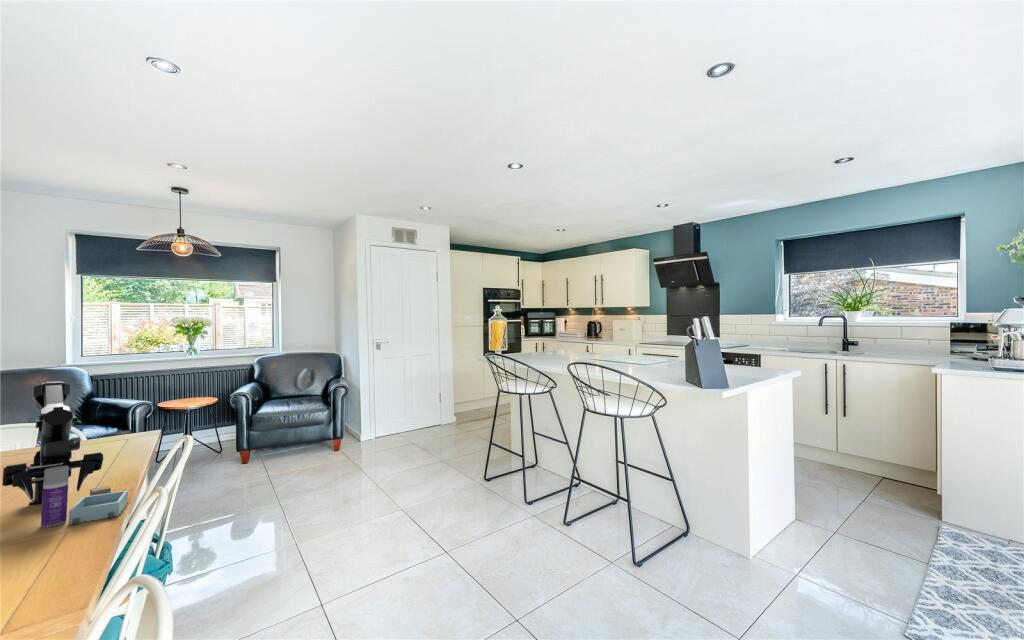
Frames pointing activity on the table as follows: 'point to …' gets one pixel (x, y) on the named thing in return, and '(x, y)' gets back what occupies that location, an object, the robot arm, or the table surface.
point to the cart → (98, 507)
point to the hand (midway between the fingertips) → (55, 494)
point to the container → (54, 496)
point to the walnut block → (100, 490)
